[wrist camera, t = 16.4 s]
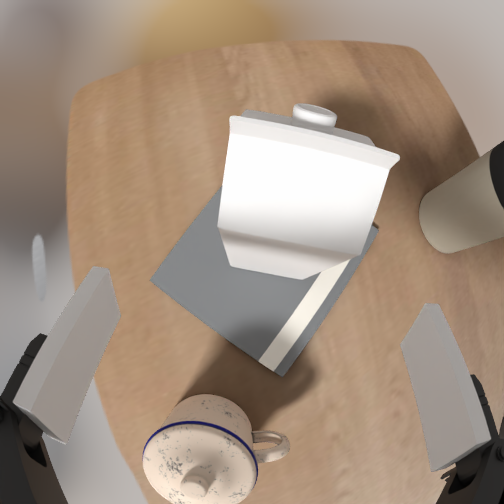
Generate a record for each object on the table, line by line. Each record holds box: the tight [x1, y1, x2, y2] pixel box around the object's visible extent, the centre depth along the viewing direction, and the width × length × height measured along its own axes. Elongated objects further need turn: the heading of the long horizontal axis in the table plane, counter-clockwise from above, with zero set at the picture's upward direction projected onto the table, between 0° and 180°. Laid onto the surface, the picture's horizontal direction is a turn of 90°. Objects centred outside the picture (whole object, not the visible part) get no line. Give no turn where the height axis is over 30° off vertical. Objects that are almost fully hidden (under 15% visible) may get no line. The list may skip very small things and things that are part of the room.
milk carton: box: [217, 104, 400, 280], centre depth 20 cm, size 7×7×19 cm
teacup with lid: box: [143, 394, 290, 504], centre depth 21 cm, size 12×9×12 cm
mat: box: [150, 185, 379, 377], centre depth 30 cm, size 18×16×1 cm
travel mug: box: [419, 141, 504, 253], centre depth 23 cm, size 8×8×18 cm
